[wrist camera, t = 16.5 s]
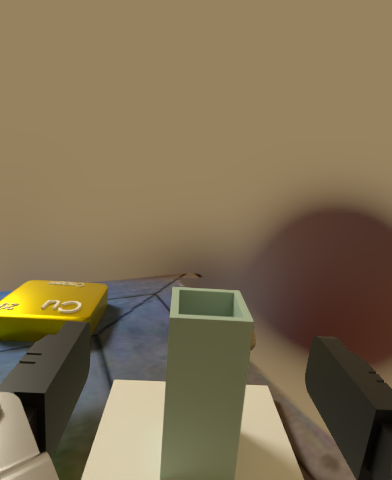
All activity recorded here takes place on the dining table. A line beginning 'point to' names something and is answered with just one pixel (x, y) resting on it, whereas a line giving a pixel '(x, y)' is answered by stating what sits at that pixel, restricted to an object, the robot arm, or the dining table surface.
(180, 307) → the hollow square tube
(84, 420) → the dining table surface
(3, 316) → the element tile
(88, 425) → the dining table surface
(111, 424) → the base plate
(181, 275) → the dining table surface
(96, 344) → the dining table surface
